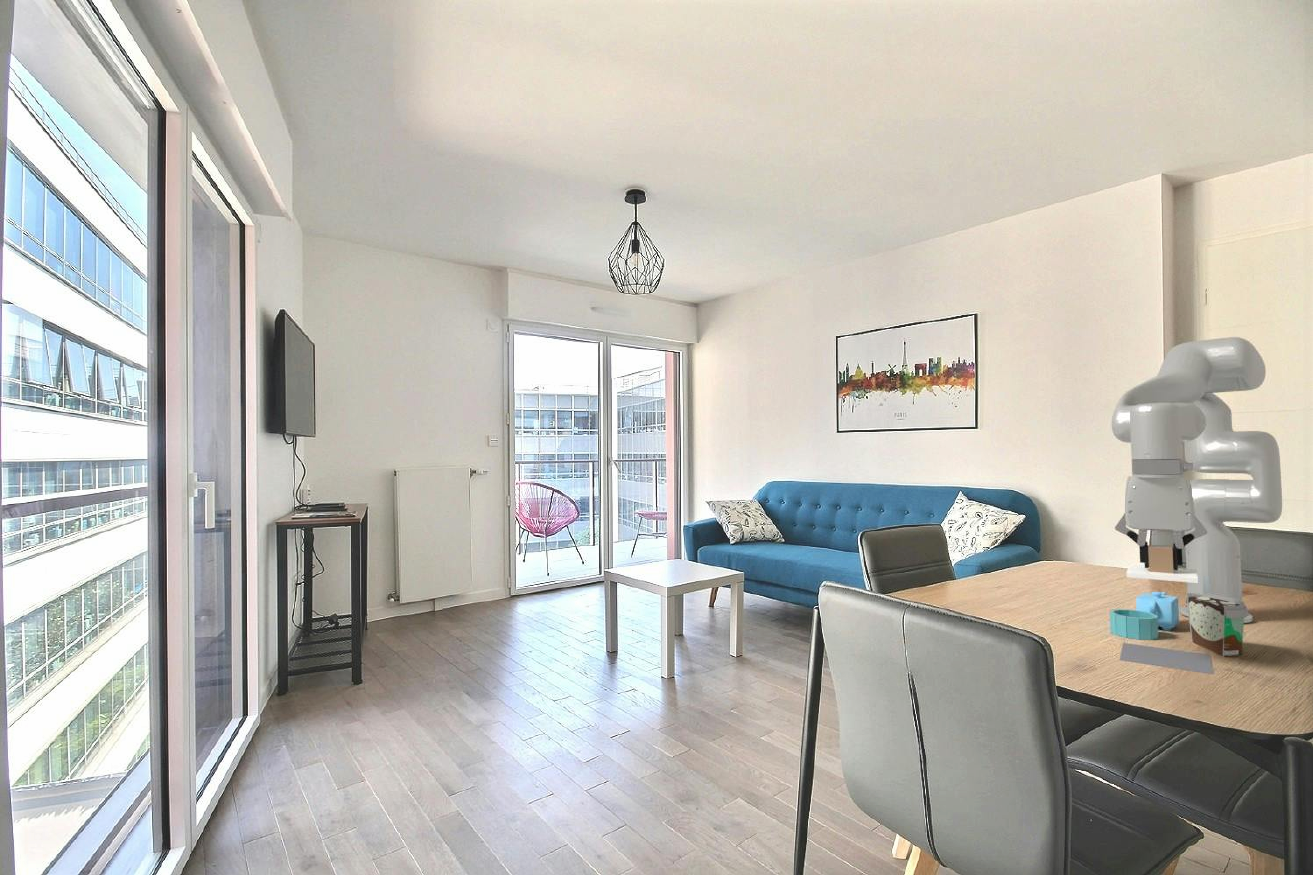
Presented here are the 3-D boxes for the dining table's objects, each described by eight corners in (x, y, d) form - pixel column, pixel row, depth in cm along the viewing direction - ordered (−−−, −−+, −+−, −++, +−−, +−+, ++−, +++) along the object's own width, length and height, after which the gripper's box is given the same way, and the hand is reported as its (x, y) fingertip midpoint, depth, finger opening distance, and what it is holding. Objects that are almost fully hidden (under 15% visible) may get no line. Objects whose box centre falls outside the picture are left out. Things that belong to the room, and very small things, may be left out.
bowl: (1112, 629, 137) (1111, 607, 138) (1158, 635, 132) (1157, 612, 133) (1109, 637, 131) (1108, 615, 131) (1158, 644, 126) (1157, 620, 126)
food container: (1268, 663, 114) (1266, 607, 114) (1229, 662, 115) (1226, 606, 116) (1222, 643, 126) (1220, 593, 127) (1187, 642, 127) (1184, 592, 128)
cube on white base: (1129, 568, 125) (1128, 541, 125) (1196, 573, 118) (1194, 545, 118) (1126, 577, 117) (1125, 548, 117) (1197, 583, 111) (1196, 552, 111)
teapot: (1148, 618, 146) (1147, 585, 146) (1182, 623, 141) (1180, 589, 141) (1135, 628, 138) (1134, 593, 138) (1170, 634, 133) (1169, 598, 134)
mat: (1123, 645, 126) (1123, 642, 126) (1209, 657, 118) (1209, 654, 118) (1119, 662, 116) (1119, 659, 116) (1213, 677, 108) (1213, 674, 108)
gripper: (1215, 468, 116) (1219, 569, 115) (1104, 468, 126) (1108, 561, 126) (1217, 469, 110) (1222, 576, 110) (1101, 470, 120) (1105, 567, 120)
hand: (1161, 567), depth 118 cm, fingers closed on cube on white base, 3 cm apart
